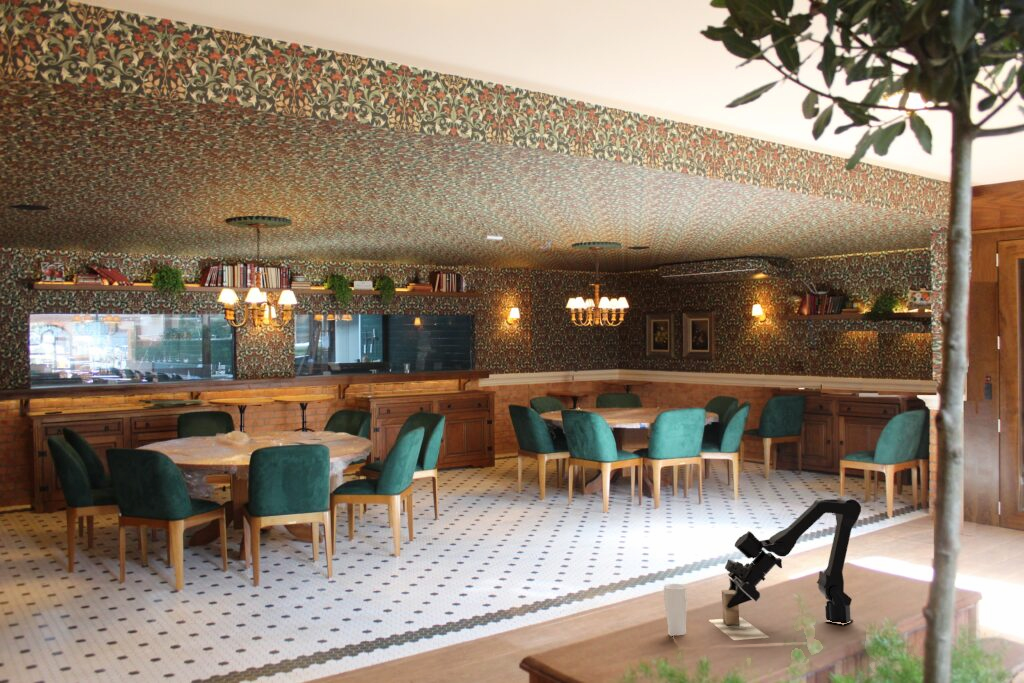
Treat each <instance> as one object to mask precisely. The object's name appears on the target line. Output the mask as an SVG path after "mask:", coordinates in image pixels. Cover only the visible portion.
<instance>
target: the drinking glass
mask: <svg viewBox="0 0 1024 683" xmlns="http://www.w3.org/2000/svg"><path fill="white" fill-rule="evenodd" d="M686 587H687V586H686V585H684V584H683V583H682V584H681V583H680V584H679V583H669V584H666V585H665V584H664V586H663V597H664V608H665V613H666V614H665V615H666V620H667V621H666V623H667V632H668V635H669V636H670V637H672V636H673V638H675V636H683V635H687V625H686V624H687V603H688V602H687V599H688V598H687V588H686Z"/></svg>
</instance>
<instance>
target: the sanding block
mask: <svg viewBox="0 0 1024 683" xmlns="http://www.w3.org/2000/svg"><path fill="white" fill-rule="evenodd" d="M735 592H736V591H735V590H729V589H723V590H722V589H721V605H722V619H723V622H724V623H725V625H726V626H740V622H739V617H740V608H739V605H740V604H739V605H736V606H734V607H732V608H728V607H727V604H728V603H729V601H730V600H731V598H732V597H733V595H734V594H735Z"/></svg>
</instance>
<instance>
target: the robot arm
mask: <svg viewBox="0 0 1024 683" xmlns="http://www.w3.org/2000/svg"><path fill="white" fill-rule="evenodd" d="M861 513H862V506H861V504H860V502H859V501H857V500H855V499H853V498H851V497H848V496H842V497H840V498H838V499H835V498H833V499H832V498H831V499H822V498H817V499H816V500H814V502H813V503H812V504H811V505H810V506H809V507H808V508H807V509H806V510H804V512H803V513H802V514H801V515H800V516H798V517H797V518H796V519H795V520H794V521H793V522H791V524H790V525H788V527H786V528H784V529H782V530H780V531H778V532H777V533H775V534H774V535H772V536H770V537H769V538H768V539H762V540H759V538H757V537H756V536H755V535H754V534H753V533H752V532H751V531H750V530H749V531H747V532H746V533H744V534H743V535H741V536H739V537H738V539H737V540H736V541H735V543H734V547H735V548H736V549H737V550H738V551H739V552H741V553H742V554H743V555H744V556H745V558H747V559H751V558H752V559H753V560H752V561H751V562H750V563H749V562H748V563H745V564H744V565H743V563H741V562H739V561H734V560H731V559H729V558H728V559H727V562H726V564H725V567H724V569H725V570H726V571H727V572H728V574H727V576H728V577H730V578H729V579H728V580H729V587H728V590H735V591H736V592H735V594H734V595H733V597H732V598H731V600H730V601H729V603H728V604H727V607H728V608H732V607H734V606H736V605H742V604H744V603H746V602H749V601H752V600H754V602H757V601H758V600H759V599H760V598H761V593H760V592H759V591H758V588H757V586H758V584H760V582H762V581H763V582H764V581H765V580H766V575H768V573H769V572H770V571H771V570H772V569H773V567H775V565H776V566H777V567H778V568H779V569H783V564H782V561H783V560H782V558H780V557H786V556H788V555H789V554H790V553H791V551H792V550H793V548H794V547H795V545H796V544H797V542H798V540H799V539H800V537H802V536H803V534H805V532H806V531H808V530H809V529H810V528H812V526H813V525H814V524H815V523H816V522H818V521H819V519H820V518H822V516H824V514H825V515H826V514H833V515H835V521H836V526H835V531H834V536H833V540H832V545H831V549H830V554H829V559H828V564H827V567H826V568H825V570H824V571H822V570H820V571H819V573H818V580H817V581H816V584H818V590H819V592H820V593H821V594H822V595H823V596H824V597H825V600H827V601H826V605H825V608H824V609H825V620H830V621H832V622H841V623H847V622H849V621H853V622H854V619H852V617H851V603H852V597H850V596H849V595H848V594H847V593H845V581H844V574H843V572H844V566H845V561H846V557H847V552H848V547H849V543H850V540H851V538H850V537H851V533H852V530H853V529H852V528H853V527H854V526H855V524H856V523H857V522H858V519H859V516H861ZM763 549H764V550H763ZM765 550H766V551H765ZM774 554H775V555H776V556H775V555H774ZM777 556H778V557H777Z"/></svg>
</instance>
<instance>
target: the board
mask: <svg viewBox="0 0 1024 683" xmlns="http://www.w3.org/2000/svg"><path fill="white" fill-rule="evenodd" d="M708 621H709V622H710V623H711V624H712V625H714V626H715V627H716V628H718V629H719V630H720V631H721V632H722V633H723V634H725V635H727V637H729V638H730V639H732V641H740V640H741V641H744V640H754V639H766V638H770V637H769V636H768V635H766V634H765V633H764V632H762V631H761V630H760V629H759V628H757V627H756V626H754V625H753V624H751V623H750V622H748V621H747V620H745V619H744V618H742V617H740V616H739V622H740V626H726V625H725V623H724V622H723V618H718V619H717V618H716V619H709V620H708Z"/></svg>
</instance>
